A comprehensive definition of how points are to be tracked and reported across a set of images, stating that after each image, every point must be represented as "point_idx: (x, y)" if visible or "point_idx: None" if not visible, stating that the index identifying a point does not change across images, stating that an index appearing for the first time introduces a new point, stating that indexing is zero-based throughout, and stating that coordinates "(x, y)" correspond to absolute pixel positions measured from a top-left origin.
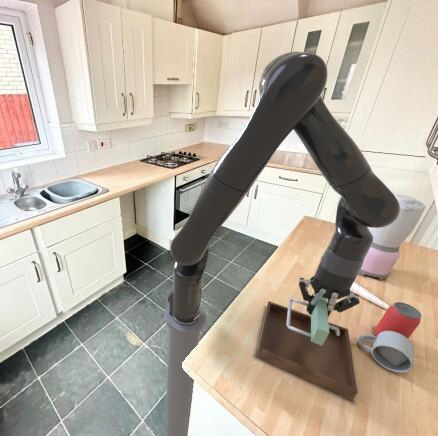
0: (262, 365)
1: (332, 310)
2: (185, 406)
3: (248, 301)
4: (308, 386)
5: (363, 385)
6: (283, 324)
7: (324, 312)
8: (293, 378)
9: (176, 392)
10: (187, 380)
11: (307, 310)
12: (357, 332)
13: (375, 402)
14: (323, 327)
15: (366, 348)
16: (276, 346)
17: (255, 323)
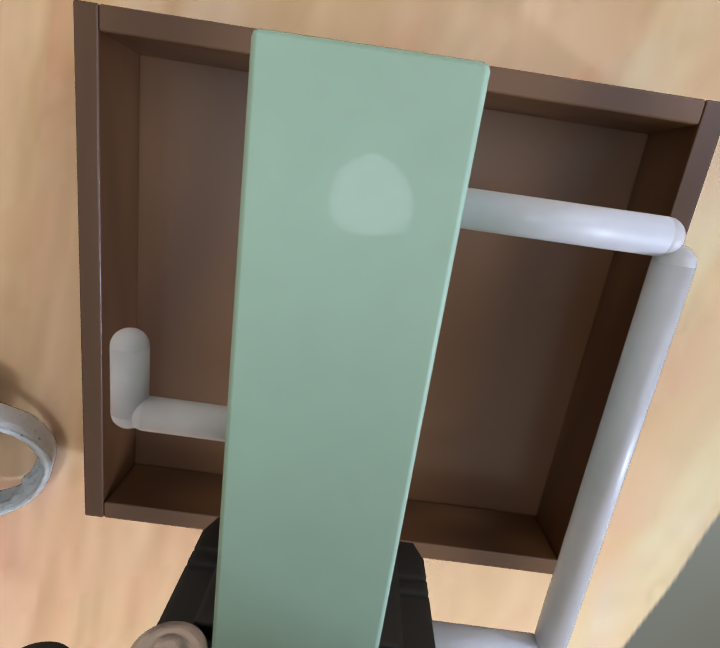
0: (631, 65)
1: (139, 644)
2: None
3: (650, 539)
4: (358, 27)
5: (56, 174)
6: (458, 433)
7: (270, 564)
8: (443, 48)
9: None
10: None
11: (411, 554)
12: (53, 522)
13: (6, 83)
14: (352, 154)
15: (6, 417)
16: (527, 244)
17: None
